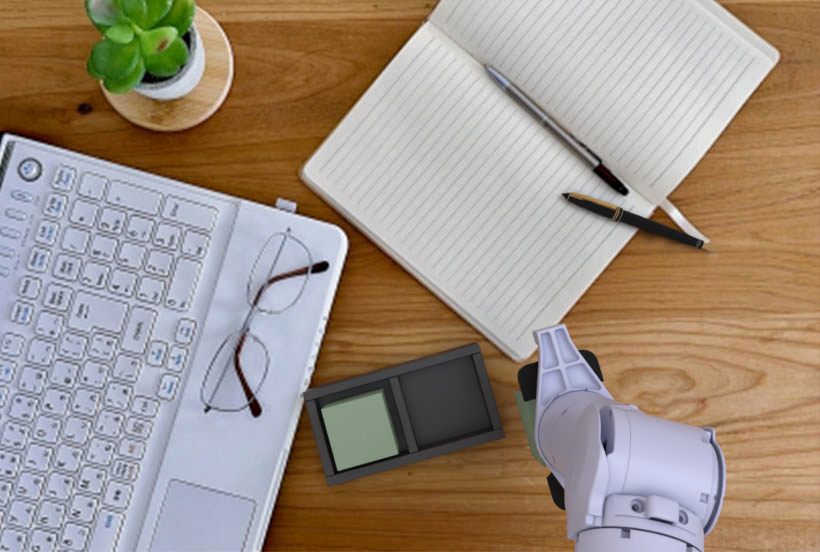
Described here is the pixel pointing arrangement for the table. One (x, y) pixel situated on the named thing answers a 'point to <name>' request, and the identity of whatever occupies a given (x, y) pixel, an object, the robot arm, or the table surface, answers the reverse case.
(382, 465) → the two-compartment tray
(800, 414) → the table surface
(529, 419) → the green block
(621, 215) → the fountain pen
